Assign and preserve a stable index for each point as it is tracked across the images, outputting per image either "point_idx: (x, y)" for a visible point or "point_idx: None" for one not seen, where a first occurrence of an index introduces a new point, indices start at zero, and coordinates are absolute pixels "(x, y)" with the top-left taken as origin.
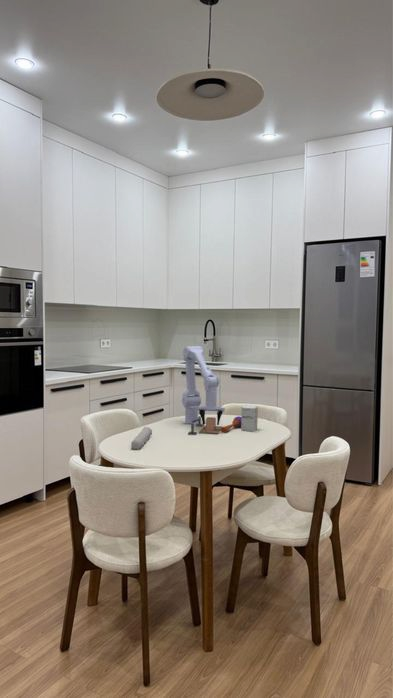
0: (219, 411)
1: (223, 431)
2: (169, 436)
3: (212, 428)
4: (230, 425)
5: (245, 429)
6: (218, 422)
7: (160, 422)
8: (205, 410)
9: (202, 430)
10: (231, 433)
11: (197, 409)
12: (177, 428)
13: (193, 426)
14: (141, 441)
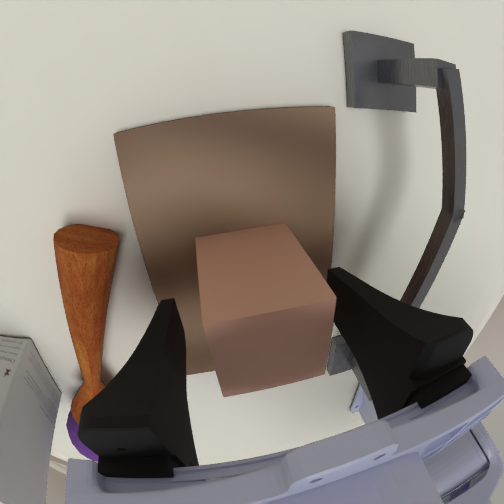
0: (142, 464)
1: (91, 232)
2: (478, 9)
3: (217, 244)
4: (77, 351)
5: (4, 341)
6: (152, 318)
7: (495, 306)
8: (394, 417)
9: (315, 195)
10: (28, 231)
11: (493, 366)
12: (468, 231)
13: (421, 63)
14: None
